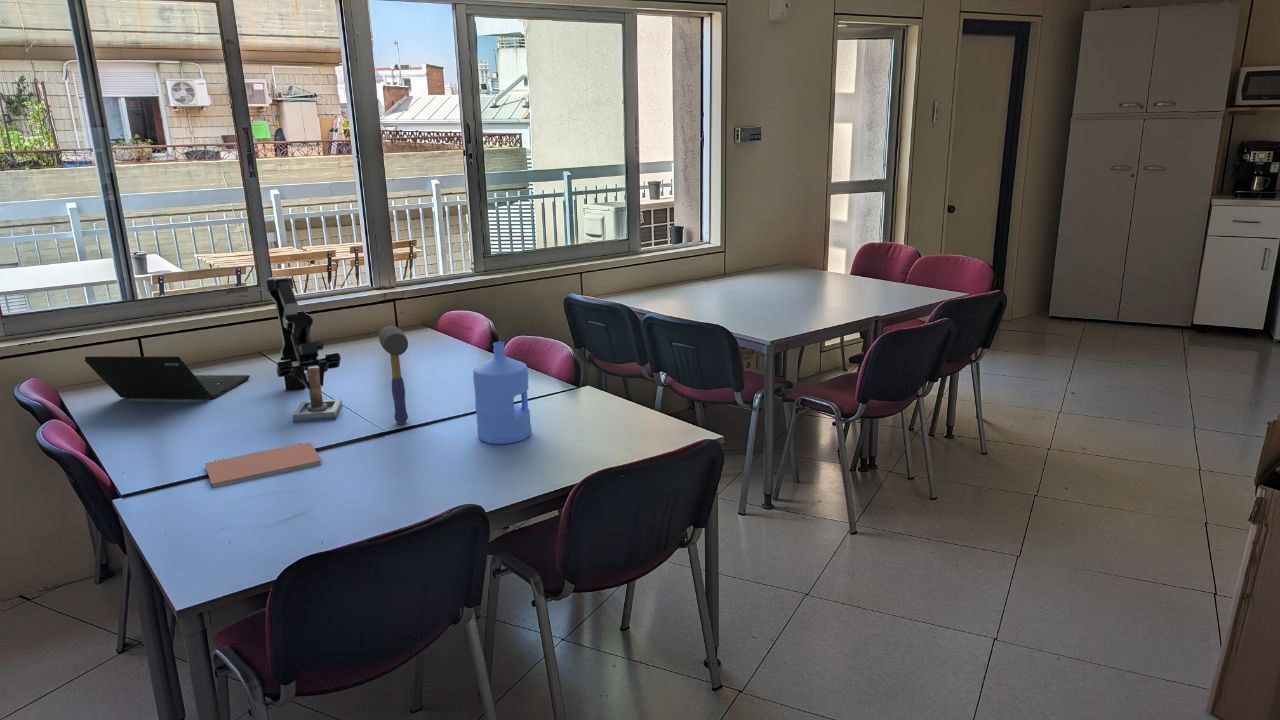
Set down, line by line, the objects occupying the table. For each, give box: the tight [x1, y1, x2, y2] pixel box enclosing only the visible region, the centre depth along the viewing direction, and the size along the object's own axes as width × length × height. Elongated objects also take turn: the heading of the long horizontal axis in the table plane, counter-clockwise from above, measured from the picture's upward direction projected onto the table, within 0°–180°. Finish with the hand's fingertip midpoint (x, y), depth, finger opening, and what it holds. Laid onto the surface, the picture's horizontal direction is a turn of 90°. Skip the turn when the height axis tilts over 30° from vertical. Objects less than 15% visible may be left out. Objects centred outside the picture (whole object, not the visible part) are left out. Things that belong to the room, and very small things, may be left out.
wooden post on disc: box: [305, 367, 328, 412], centre depth 265 cm, size 6×6×13 cm
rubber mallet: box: [378, 324, 409, 425], centre depth 254 cm, size 12×8×30 cm, turn 25°
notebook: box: [204, 442, 323, 488], centre depth 228 cm, size 27×17×2 cm, turn 122°
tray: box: [292, 398, 343, 424], centre depth 267 cm, size 13×13×2 cm
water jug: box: [472, 341, 532, 445], centre depth 242 cm, size 16×16×28 cm
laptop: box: [84, 355, 251, 400], centre depth 287 cm, size 33×38×19 cm
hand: (315, 387), depth 263 cm, fingers open, 4 cm apart
